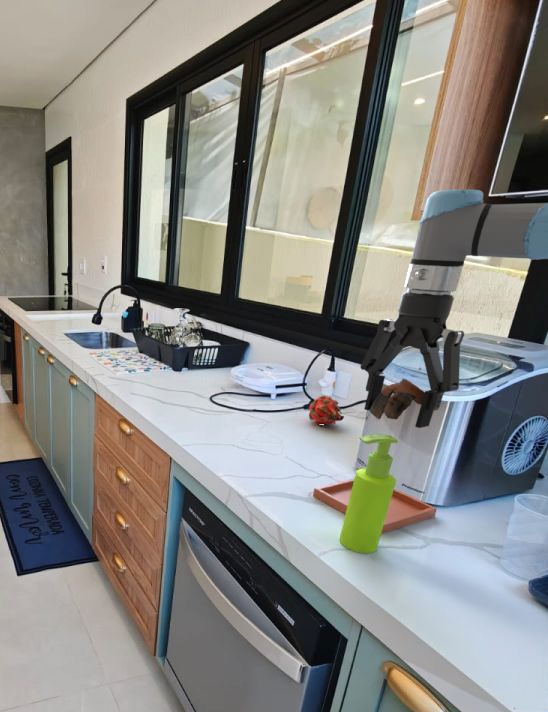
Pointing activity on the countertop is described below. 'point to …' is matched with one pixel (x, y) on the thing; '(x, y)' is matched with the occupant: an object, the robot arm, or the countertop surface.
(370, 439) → the soap dispenser
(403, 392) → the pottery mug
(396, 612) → the countertop surface
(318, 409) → the dragon fruit
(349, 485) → the tray
